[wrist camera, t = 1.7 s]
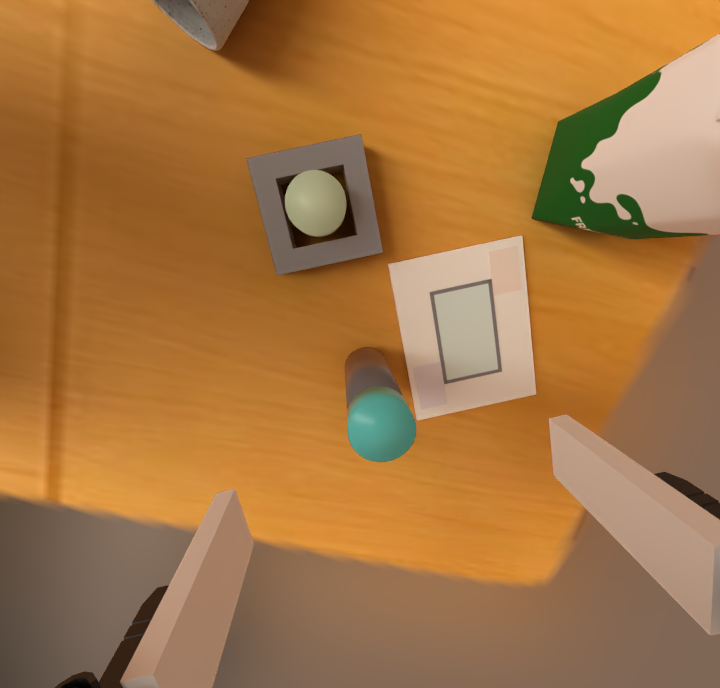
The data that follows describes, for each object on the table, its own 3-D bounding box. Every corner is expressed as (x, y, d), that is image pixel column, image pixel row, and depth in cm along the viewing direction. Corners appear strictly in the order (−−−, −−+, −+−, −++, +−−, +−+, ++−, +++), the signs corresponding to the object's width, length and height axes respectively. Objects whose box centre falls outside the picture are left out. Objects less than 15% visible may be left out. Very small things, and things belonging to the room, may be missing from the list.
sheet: (416, 418, 32) (417, 421, 32) (387, 264, 29) (388, 264, 28) (534, 392, 33) (536, 394, 32) (519, 235, 29) (522, 235, 29)
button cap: (298, 242, 27) (293, 240, 24) (284, 185, 26) (277, 176, 23) (350, 231, 27) (352, 228, 24) (338, 174, 26) (339, 164, 23)
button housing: (281, 273, 29) (276, 275, 26) (254, 167, 27) (246, 158, 24) (379, 252, 29) (383, 252, 26) (359, 144, 27) (361, 134, 24)
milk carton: (654, 131, 28) (1385, -155, 8) (614, 249, 30) (1129, 239, 10) (549, 105, 27) (1098, -280, 8) (516, 229, 29) (880, 177, 10)
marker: (348, 389, 31) (356, 468, 20) (339, 349, 30) (341, 408, 19) (390, 380, 31) (421, 453, 20) (382, 340, 30) (410, 392, 19)
